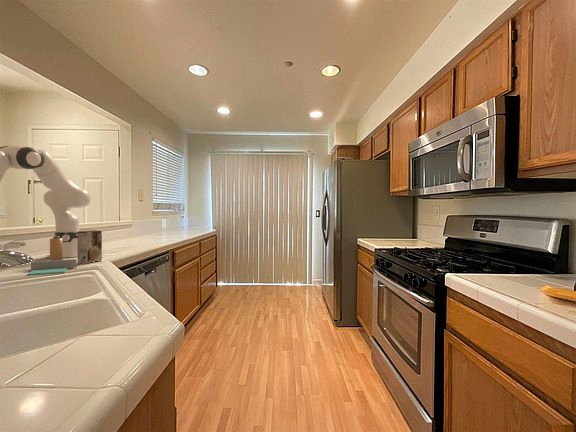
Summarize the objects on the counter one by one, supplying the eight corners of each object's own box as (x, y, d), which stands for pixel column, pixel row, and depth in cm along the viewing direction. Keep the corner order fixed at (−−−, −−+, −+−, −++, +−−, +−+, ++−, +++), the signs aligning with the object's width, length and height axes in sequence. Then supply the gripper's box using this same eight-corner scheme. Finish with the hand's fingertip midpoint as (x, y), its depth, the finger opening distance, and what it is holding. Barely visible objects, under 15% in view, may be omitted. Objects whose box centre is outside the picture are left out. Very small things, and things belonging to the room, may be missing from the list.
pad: (33, 271, 130) (33, 270, 130) (67, 269, 136) (67, 267, 136) (27, 275, 122) (27, 273, 122) (64, 272, 128) (64, 271, 128)
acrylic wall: (31, 270, 131) (31, 261, 131) (76, 267, 139) (76, 259, 139) (31, 271, 130) (31, 261, 130) (76, 268, 138) (76, 259, 138)
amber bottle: (50, 265, 145) (50, 236, 145) (63, 264, 148) (63, 235, 148) (48, 266, 141) (48, 236, 141) (62, 266, 143) (62, 236, 143)
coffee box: (91, 260, 160) (92, 230, 160) (102, 261, 159) (102, 230, 159) (76, 263, 151) (76, 231, 151) (87, 264, 150) (87, 231, 150)
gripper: (-30, 240, 122) (15, 239, 129) (-11, 237, 140) (28, 236, 147) (-30, 256, 122) (15, 254, 129) (-11, 251, 140) (28, 249, 147)
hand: (22, 244), depth 138 cm, fingers open, 8 cm apart
